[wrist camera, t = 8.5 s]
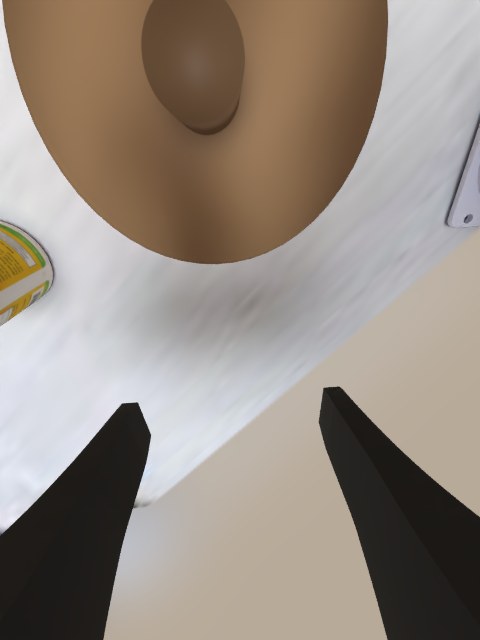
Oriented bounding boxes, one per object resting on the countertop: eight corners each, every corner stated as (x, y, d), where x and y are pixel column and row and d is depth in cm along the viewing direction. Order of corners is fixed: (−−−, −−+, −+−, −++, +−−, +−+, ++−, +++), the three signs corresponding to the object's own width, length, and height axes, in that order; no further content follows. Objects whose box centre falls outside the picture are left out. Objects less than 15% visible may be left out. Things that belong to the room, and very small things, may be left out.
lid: (430, -231, 6) (649, -658, 3) (339, 254, 12) (378, 286, 9) (-74, -236, 6) (-433, -710, 3) (91, 262, 12) (42, 298, 9)
